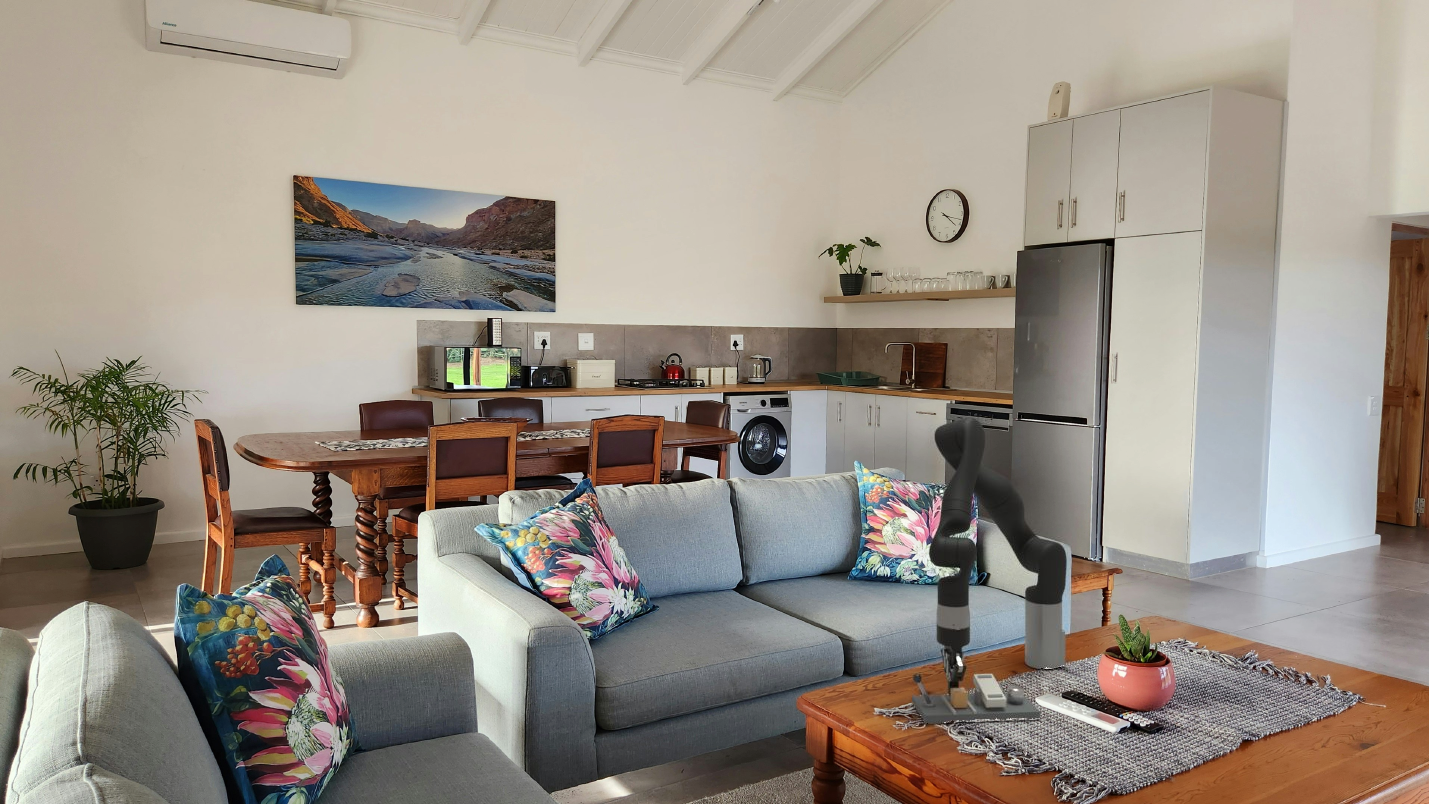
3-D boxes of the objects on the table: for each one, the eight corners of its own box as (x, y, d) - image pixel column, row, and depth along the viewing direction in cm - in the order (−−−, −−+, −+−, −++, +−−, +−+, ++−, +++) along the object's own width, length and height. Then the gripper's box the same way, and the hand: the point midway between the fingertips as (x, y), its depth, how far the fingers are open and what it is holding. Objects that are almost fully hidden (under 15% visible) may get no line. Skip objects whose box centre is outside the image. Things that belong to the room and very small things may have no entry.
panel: (1020, 700, 223) (1020, 678, 223) (1040, 720, 211) (1040, 697, 211) (912, 703, 222) (911, 682, 222) (925, 724, 210) (925, 701, 210)
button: (1020, 697, 219) (1020, 684, 218) (1025, 703, 215) (1025, 690, 215) (1004, 697, 218) (1004, 685, 218) (1010, 703, 215) (1010, 691, 215)
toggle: (931, 699, 217) (918, 670, 217) (934, 702, 215) (920, 673, 215) (924, 702, 217) (910, 674, 217) (926, 706, 215) (912, 677, 215)
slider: (963, 702, 216) (963, 685, 216) (967, 707, 213) (967, 690, 213) (950, 702, 216) (950, 686, 216) (954, 707, 213) (954, 690, 213)
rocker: (991, 680, 222) (992, 672, 221) (1005, 706, 212) (1006, 698, 211) (973, 681, 221) (973, 673, 221) (986, 707, 212) (987, 698, 211)
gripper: (929, 614, 224) (930, 685, 225) (944, 631, 211) (945, 707, 212) (960, 613, 224) (961, 684, 225) (978, 630, 211) (978, 706, 212)
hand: (953, 695), depth 218 cm, fingers closed
